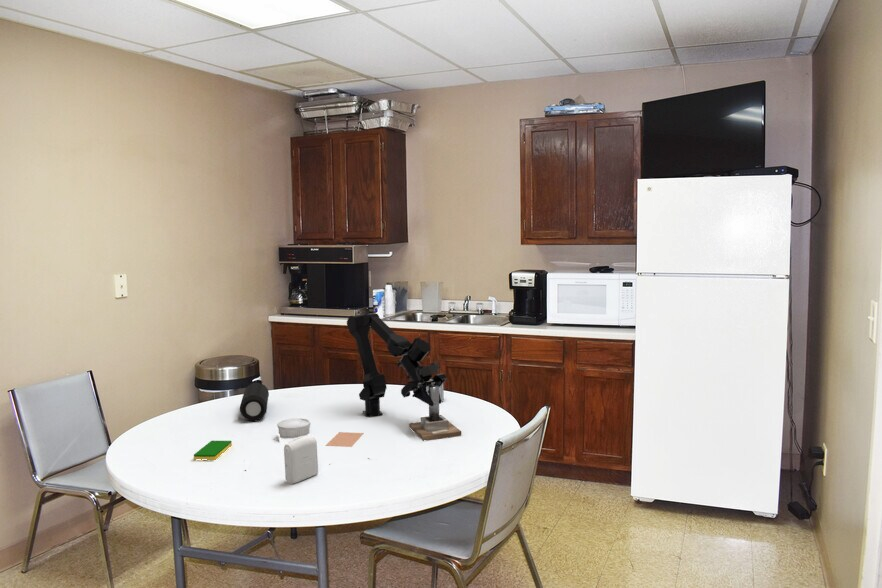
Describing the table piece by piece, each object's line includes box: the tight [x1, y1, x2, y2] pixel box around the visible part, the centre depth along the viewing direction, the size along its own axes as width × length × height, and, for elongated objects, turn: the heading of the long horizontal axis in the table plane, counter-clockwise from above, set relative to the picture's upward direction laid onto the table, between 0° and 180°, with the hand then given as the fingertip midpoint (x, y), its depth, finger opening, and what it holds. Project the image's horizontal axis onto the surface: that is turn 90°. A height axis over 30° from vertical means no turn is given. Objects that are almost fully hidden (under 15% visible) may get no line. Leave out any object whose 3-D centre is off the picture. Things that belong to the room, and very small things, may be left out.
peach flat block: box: [325, 431, 364, 448], centre depth 223 cm, size 14×9×2 cm, turn 170°
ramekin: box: [276, 417, 312, 438], centre depth 231 cm, size 11×11×5 cm
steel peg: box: [428, 385, 440, 421], centre depth 233 cm, size 4×4×12 cm
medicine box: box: [426, 378, 445, 403], centre depth 274 cm, size 8×4×9 cm, turn 84°
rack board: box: [408, 414, 462, 442], centre depth 234 cm, size 16×14×4 cm
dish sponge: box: [193, 440, 233, 461], centre depth 217 cm, size 7×14×2 cm, turn 175°
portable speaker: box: [239, 382, 270, 422], centre depth 261 cm, size 26×10×10 cm, turn 13°
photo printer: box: [283, 434, 319, 485], centre depth 193 cm, size 10×4×12 cm, turn 140°
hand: (436, 404), depth 232 cm, fingers closed on steel peg, 4 cm apart
